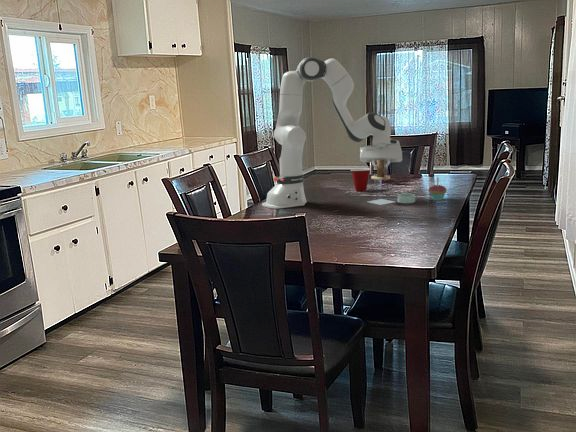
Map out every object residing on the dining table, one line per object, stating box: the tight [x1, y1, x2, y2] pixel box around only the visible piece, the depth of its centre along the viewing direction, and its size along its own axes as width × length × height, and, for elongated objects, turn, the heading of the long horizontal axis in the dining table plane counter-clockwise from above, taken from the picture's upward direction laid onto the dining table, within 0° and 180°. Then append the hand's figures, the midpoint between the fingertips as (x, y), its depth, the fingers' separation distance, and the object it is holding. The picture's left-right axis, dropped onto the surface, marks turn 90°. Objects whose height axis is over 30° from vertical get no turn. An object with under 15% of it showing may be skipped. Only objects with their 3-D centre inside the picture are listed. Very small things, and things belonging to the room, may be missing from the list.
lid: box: [371, 160, 391, 181], centre depth 273 cm, size 9×9×9 cm
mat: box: [367, 198, 396, 206], centre depth 277 cm, size 10×10×1 cm
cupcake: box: [428, 176, 448, 201], centre depth 277 cm, size 9×8×12 cm
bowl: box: [397, 192, 416, 204], centre depth 275 cm, size 8×8×4 cm
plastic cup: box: [350, 168, 371, 192], centre depth 308 cm, size 11×11×12 cm
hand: (380, 168), depth 272 cm, fingers closed on lid, 3 cm apart
